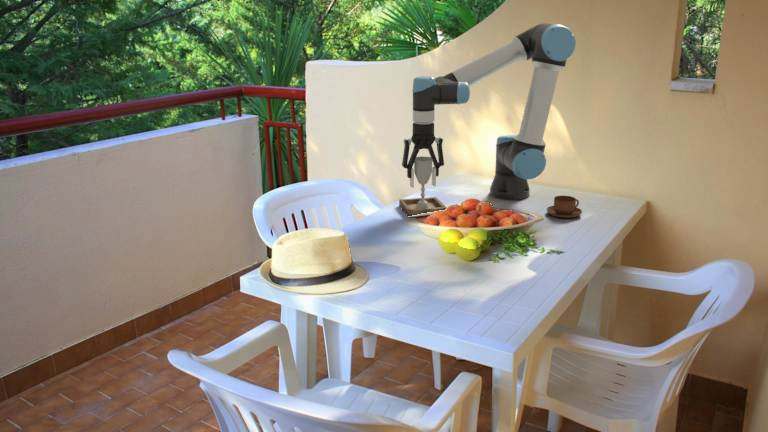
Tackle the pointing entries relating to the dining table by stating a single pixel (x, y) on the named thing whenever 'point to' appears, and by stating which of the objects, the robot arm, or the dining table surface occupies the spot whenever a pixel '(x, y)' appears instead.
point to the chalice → (423, 177)
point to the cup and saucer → (564, 207)
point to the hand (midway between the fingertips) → (422, 185)
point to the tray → (411, 209)
